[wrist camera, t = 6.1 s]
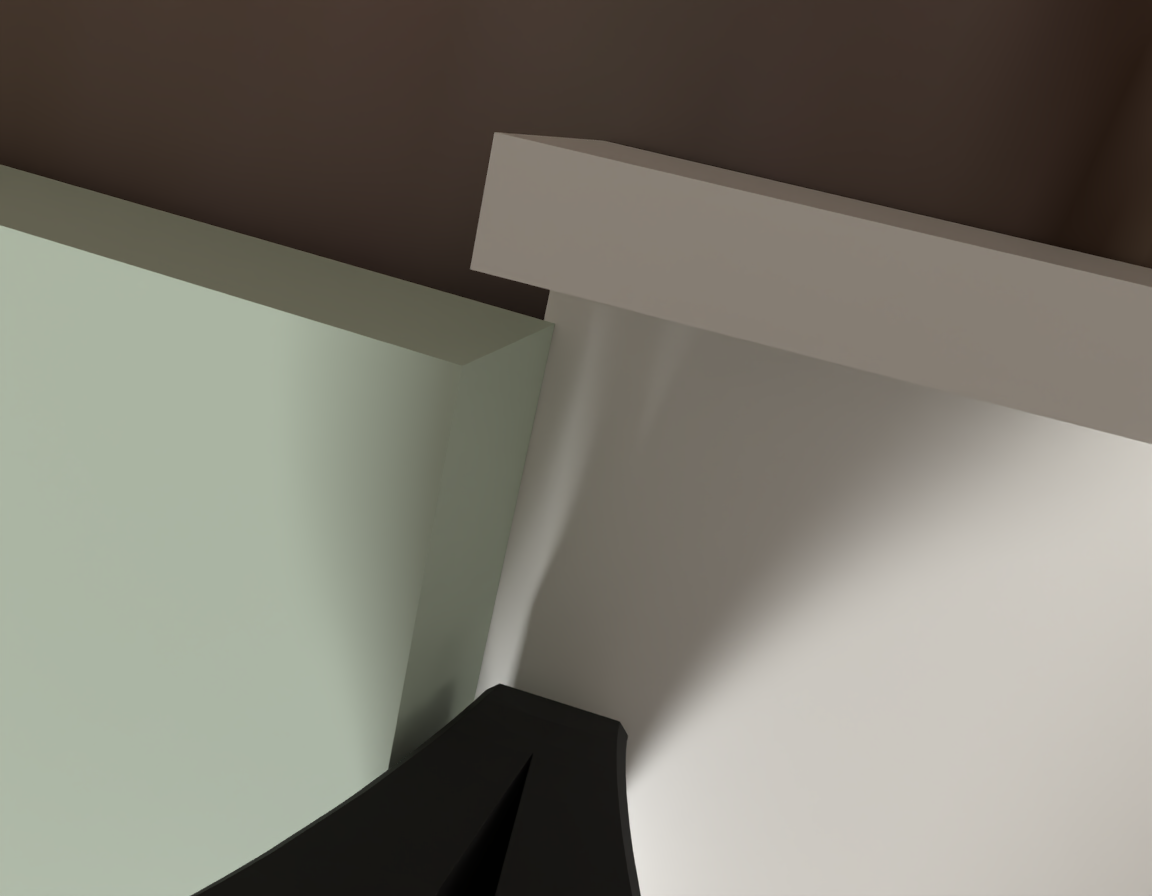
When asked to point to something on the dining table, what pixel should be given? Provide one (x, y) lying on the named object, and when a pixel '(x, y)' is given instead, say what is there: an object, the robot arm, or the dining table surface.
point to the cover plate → (230, 533)
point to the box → (832, 530)
